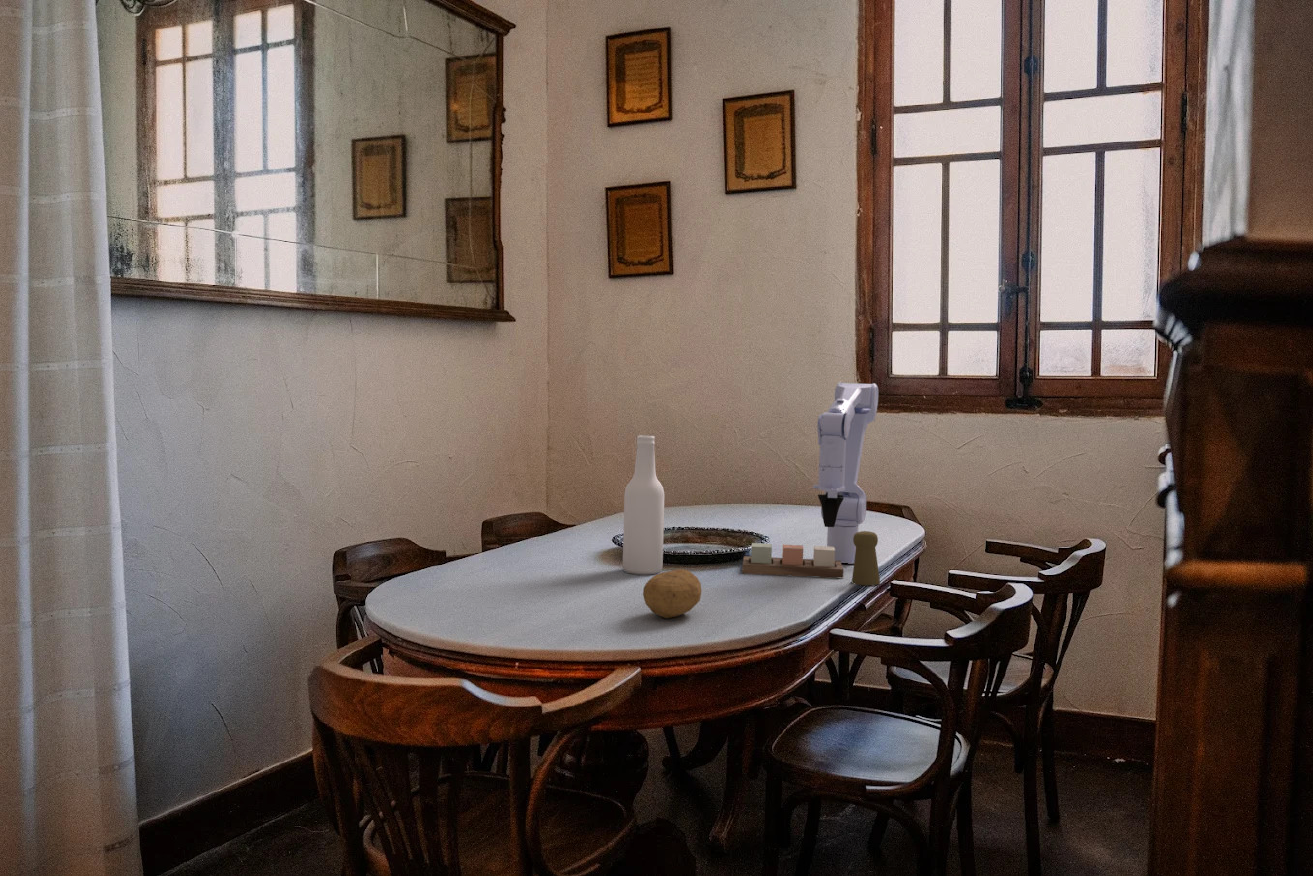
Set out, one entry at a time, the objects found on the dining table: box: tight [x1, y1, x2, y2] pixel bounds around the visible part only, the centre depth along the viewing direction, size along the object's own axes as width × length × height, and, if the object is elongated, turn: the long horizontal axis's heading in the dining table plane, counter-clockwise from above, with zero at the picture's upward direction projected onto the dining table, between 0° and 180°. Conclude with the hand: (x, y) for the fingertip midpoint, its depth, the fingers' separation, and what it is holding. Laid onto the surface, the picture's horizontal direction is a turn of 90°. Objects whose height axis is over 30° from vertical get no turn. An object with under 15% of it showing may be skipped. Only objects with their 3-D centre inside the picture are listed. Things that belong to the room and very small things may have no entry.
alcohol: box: [622, 434, 665, 576], centre depth 227 cm, size 9×9×30 cm
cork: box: [851, 530, 881, 586], centre depth 221 cm, size 6×6×11 cm
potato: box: [642, 568, 702, 619], centre depth 188 cm, size 10×14×8 cm
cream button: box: [812, 545, 835, 567], centre depth 231 cm, size 4×4×4 cm
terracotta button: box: [781, 544, 804, 565], centre depth 232 cm, size 4×4×4 cm
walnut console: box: [742, 555, 844, 578], centre depth 232 cm, size 10×22×2 cm, turn 84°
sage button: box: [750, 542, 773, 564], centre depth 233 cm, size 4×4×4 cm
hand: (829, 526), depth 231 cm, fingers closed
